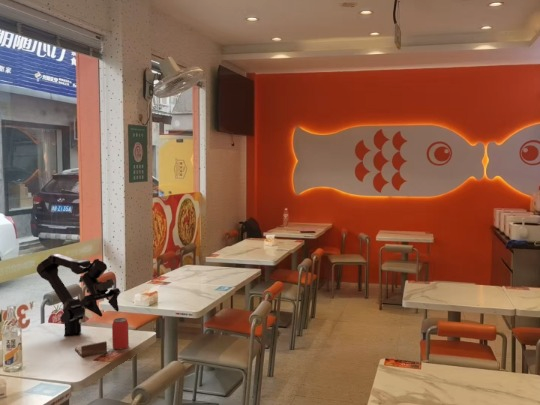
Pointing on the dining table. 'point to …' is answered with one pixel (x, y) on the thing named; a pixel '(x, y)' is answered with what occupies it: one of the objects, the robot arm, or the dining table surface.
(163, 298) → the dining table surface
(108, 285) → the robot arm
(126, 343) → the beer can
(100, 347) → the walnut backstop pad
